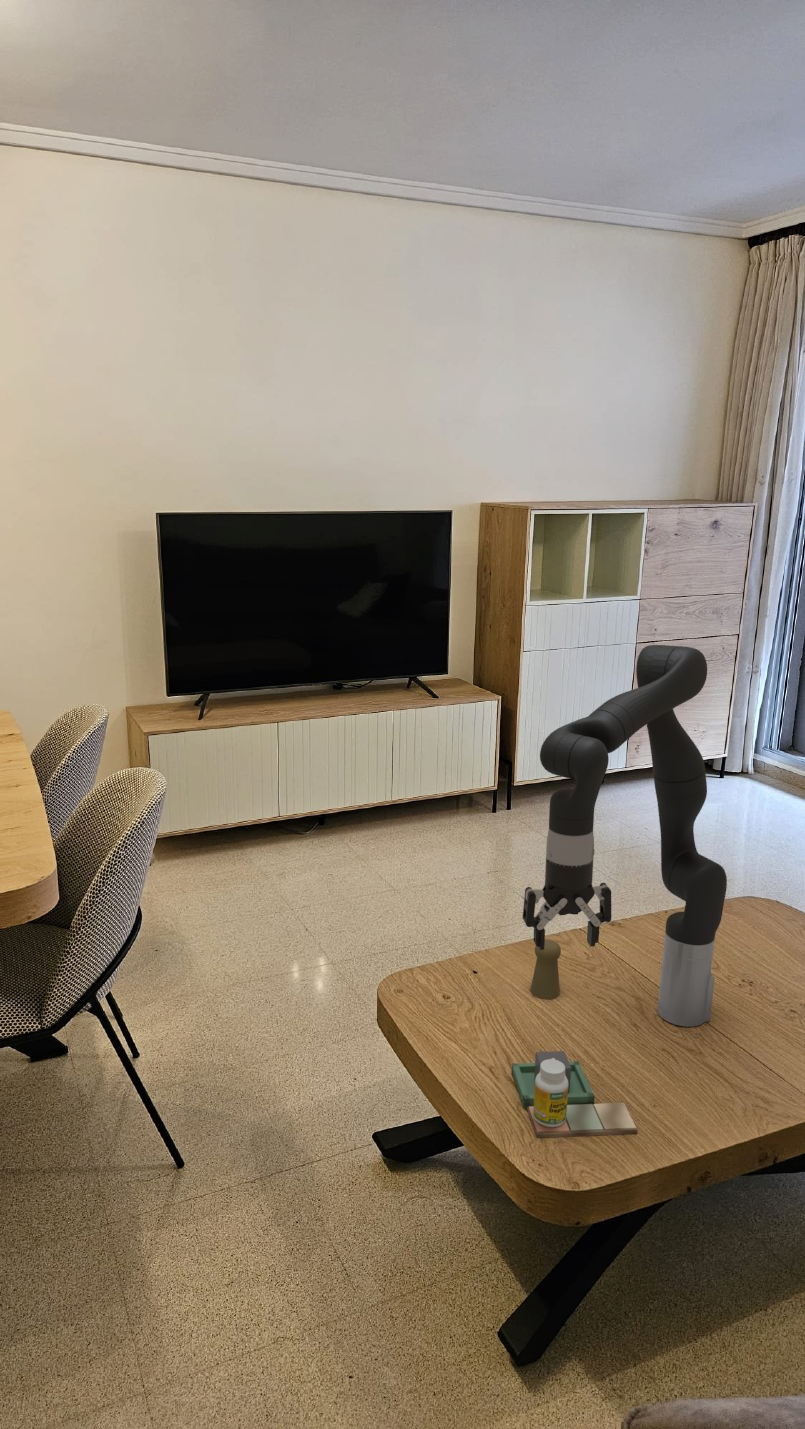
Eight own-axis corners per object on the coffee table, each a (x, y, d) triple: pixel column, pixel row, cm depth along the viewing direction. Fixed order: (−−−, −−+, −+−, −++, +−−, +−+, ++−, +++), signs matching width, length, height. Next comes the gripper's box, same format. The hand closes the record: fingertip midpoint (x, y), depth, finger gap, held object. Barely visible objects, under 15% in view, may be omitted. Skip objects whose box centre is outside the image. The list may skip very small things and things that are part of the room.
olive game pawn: (526, 995, 199) (529, 946, 197) (534, 981, 205) (537, 933, 202) (556, 1002, 197) (559, 952, 195) (563, 988, 203) (566, 939, 200)
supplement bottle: (550, 1103, 164) (554, 1052, 162) (573, 1121, 160) (577, 1069, 157) (526, 1114, 161) (529, 1062, 159) (547, 1132, 157) (551, 1079, 154)
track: (623, 1106, 165) (624, 1101, 165) (637, 1133, 159) (637, 1128, 158) (527, 1109, 164) (527, 1105, 163) (536, 1137, 157) (537, 1132, 157)
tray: (577, 1070, 175) (578, 1061, 174) (593, 1105, 165) (594, 1096, 165) (511, 1072, 174) (512, 1063, 173) (523, 1108, 164) (524, 1098, 164)
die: (563, 1076, 172) (565, 1049, 171) (571, 1094, 167) (573, 1067, 166) (534, 1077, 172) (535, 1050, 170) (540, 1095, 166) (542, 1068, 165)
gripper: (605, 843, 162) (600, 932, 166) (520, 847, 161) (517, 937, 165) (620, 861, 155) (614, 954, 159) (532, 866, 153) (528, 960, 158)
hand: (565, 945), depth 162 cm, fingers open, 8 cm apart
